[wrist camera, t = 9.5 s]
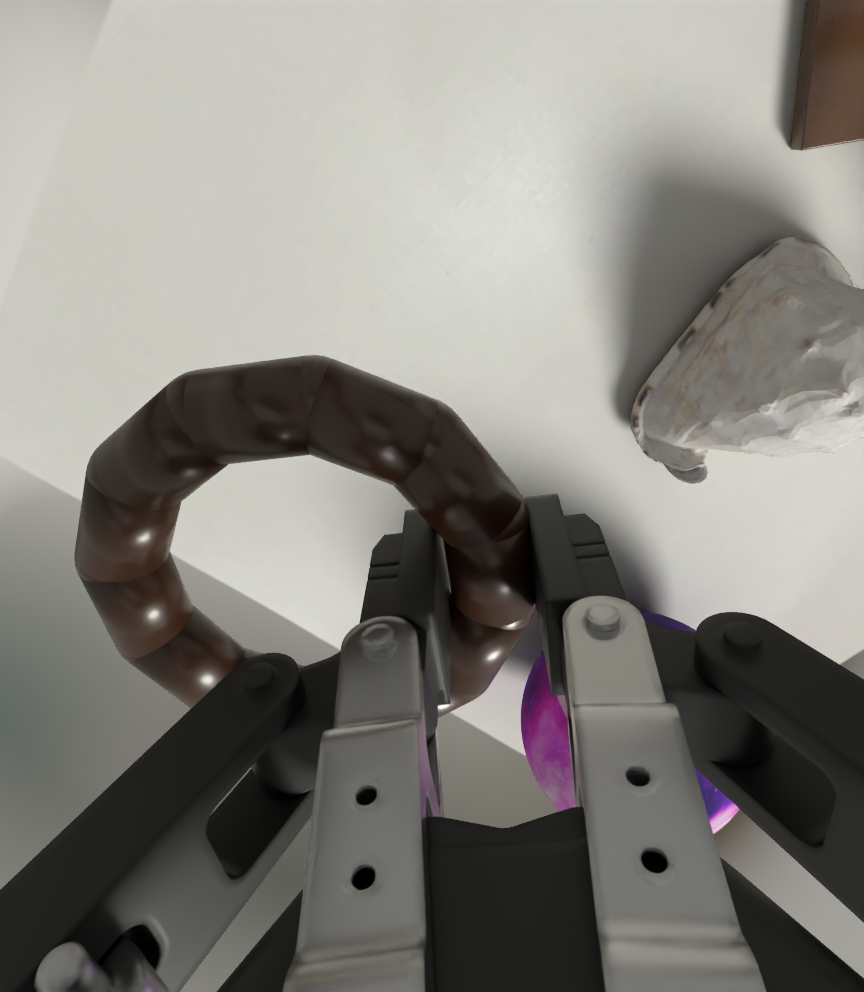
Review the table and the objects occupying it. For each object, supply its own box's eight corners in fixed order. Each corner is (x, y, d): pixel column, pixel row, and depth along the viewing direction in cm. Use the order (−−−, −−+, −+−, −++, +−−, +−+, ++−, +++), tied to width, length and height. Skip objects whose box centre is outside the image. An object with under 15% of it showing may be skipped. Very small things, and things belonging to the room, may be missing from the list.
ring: (187, 713, 17) (160, 770, 16) (28, 381, 13) (-31, 416, 11) (540, 686, 16) (548, 745, 15) (511, 317, 12) (520, 345, 10)
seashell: (607, 433, 40) (651, 518, 32) (739, 208, 33) (840, 239, 25) (770, 496, 42) (853, 592, 34) (925, 296, 36) (1078, 352, 27)
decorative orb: (619, 735, 54) (672, 927, 41) (474, 664, 50) (483, 850, 38) (752, 624, 48) (865, 810, 35) (597, 532, 44) (659, 703, 31)
